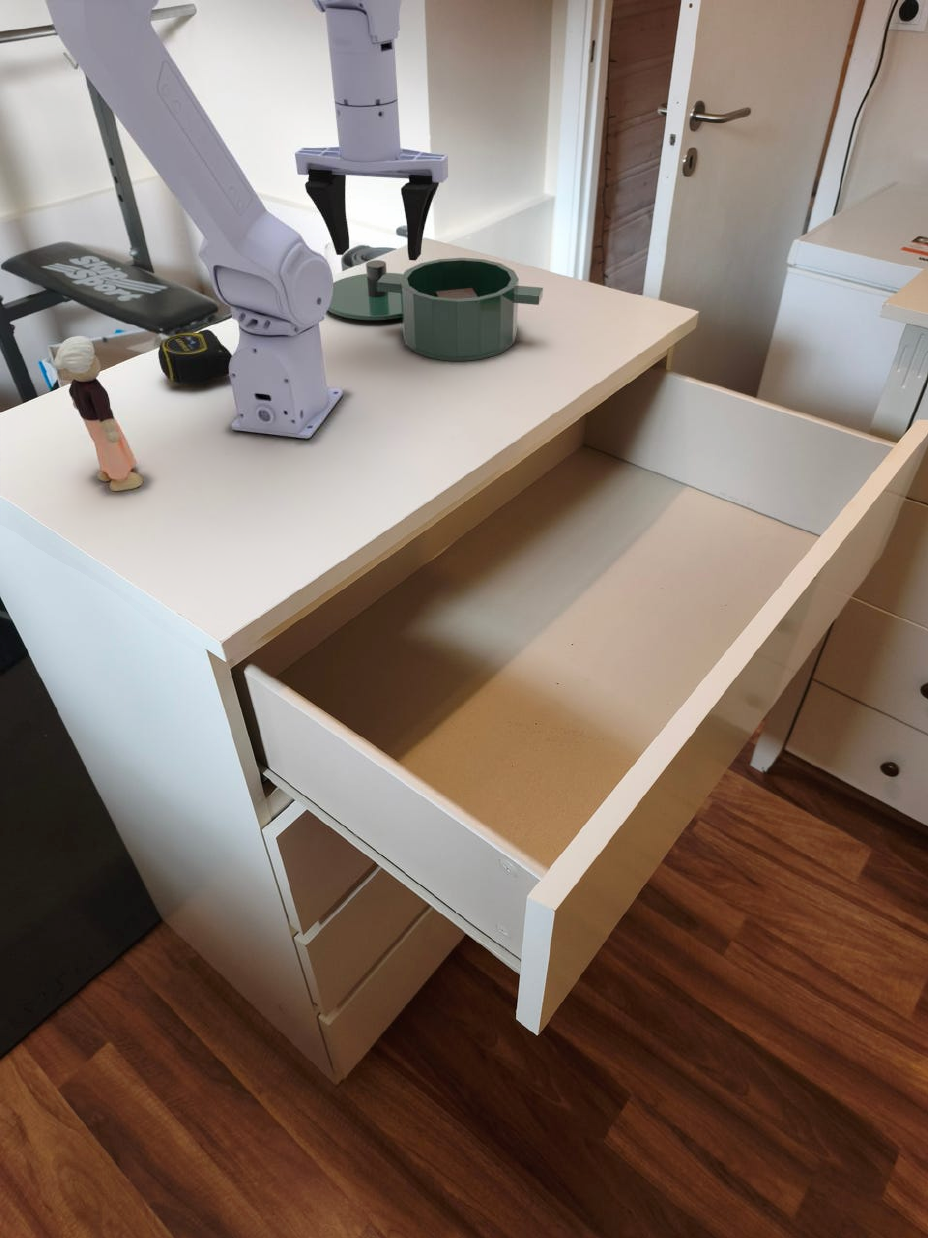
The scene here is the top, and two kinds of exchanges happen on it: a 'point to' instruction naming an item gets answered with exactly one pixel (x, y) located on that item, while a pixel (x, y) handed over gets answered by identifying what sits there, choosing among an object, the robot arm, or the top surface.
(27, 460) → the top surface
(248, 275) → the robot arm
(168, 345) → the tape measure
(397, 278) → the pot
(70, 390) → the grandmother figurine
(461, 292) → the block
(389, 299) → the pot lid
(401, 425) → the top surface
